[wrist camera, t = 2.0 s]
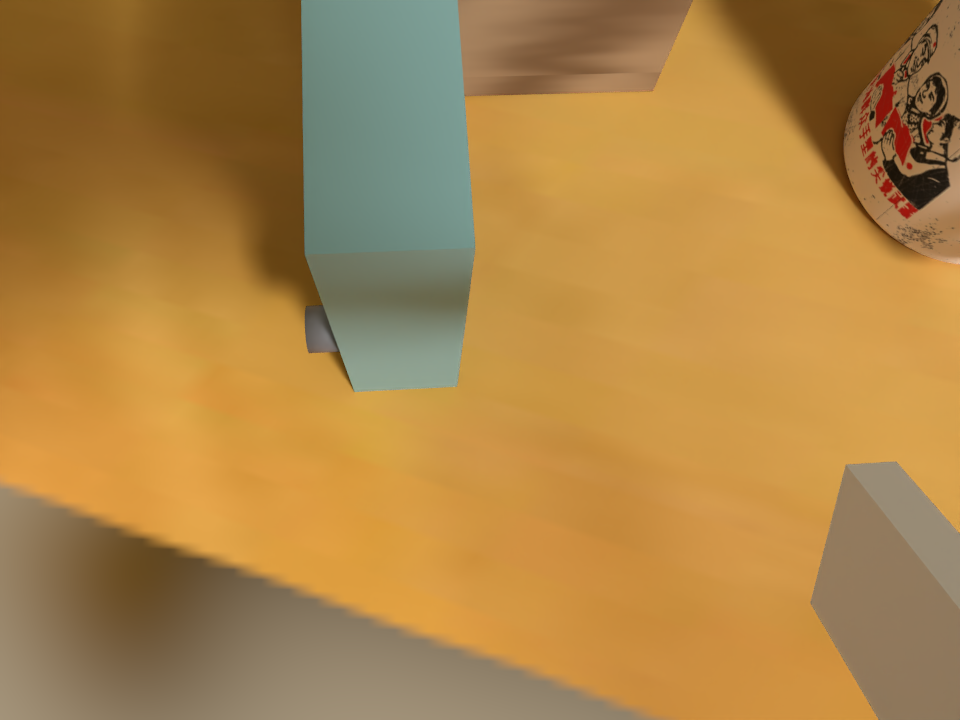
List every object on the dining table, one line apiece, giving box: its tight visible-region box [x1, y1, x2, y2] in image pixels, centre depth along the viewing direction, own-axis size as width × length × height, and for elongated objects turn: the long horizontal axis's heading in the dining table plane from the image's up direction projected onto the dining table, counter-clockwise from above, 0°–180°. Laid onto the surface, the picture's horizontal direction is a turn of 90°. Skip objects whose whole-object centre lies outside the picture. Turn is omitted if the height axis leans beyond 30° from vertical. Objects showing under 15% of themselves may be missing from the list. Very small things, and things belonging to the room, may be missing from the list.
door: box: [301, 0, 475, 392], centre depth 24 cm, size 4×9×12 cm, turn 4°
